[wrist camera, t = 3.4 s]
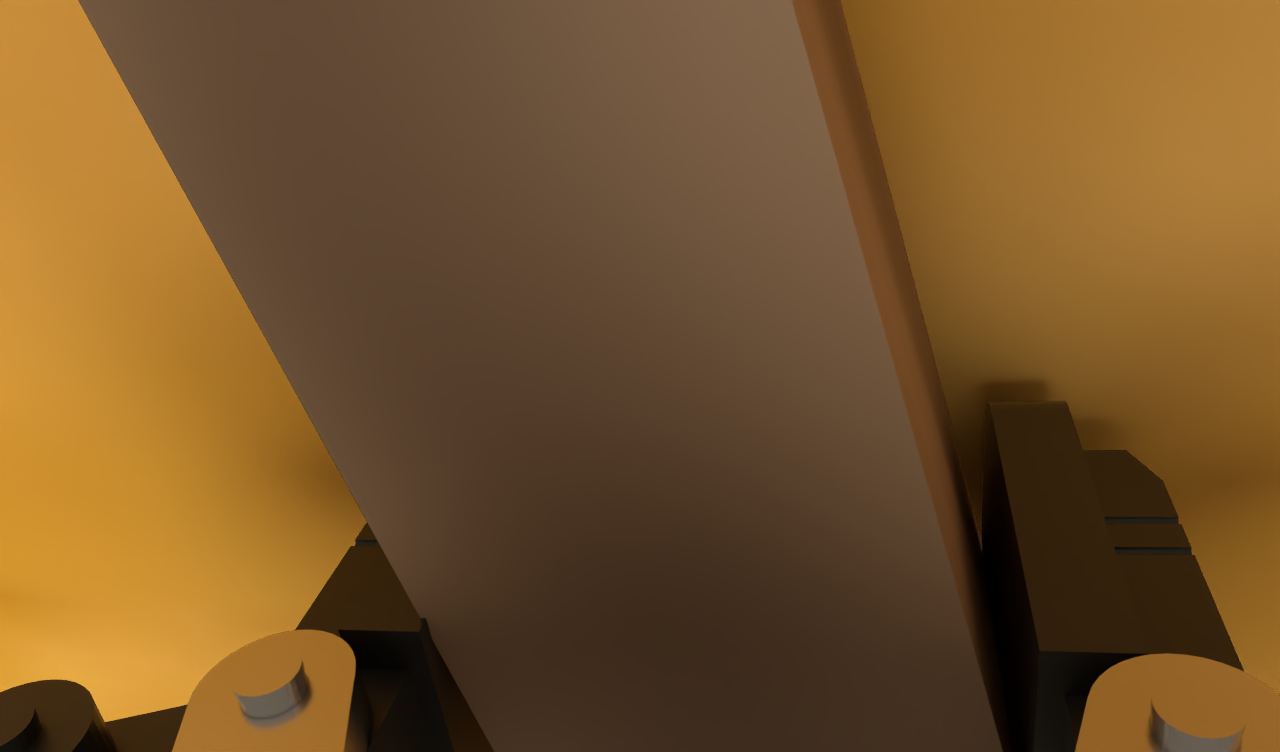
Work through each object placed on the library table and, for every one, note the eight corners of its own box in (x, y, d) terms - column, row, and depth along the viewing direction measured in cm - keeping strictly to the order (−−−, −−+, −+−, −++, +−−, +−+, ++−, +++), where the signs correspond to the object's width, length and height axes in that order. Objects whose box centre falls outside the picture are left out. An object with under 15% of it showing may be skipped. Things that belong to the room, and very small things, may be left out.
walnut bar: (559, -1069, 7) (237, -1974, 3) (1114, 1042, 16) (1185, 1400, 12) (73, -721, 8) (-536, -1107, 4) (844, 1048, 17) (839, 1373, 13)
